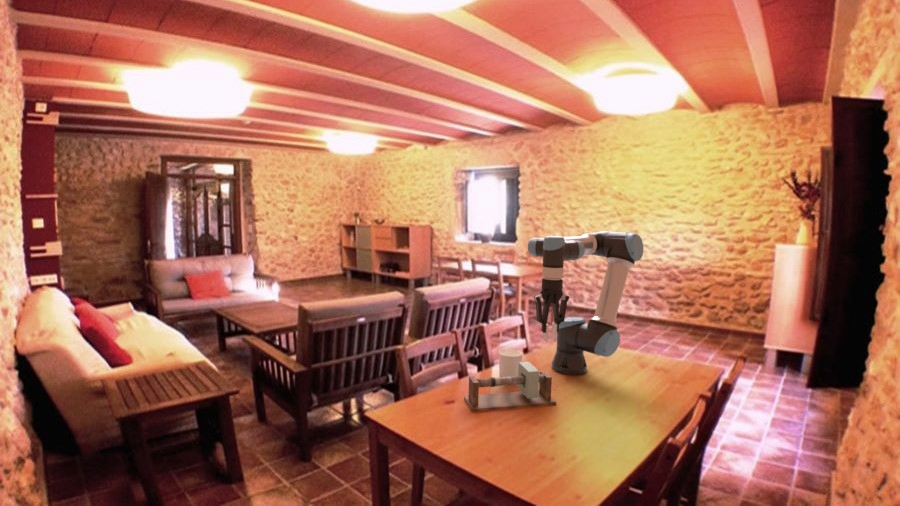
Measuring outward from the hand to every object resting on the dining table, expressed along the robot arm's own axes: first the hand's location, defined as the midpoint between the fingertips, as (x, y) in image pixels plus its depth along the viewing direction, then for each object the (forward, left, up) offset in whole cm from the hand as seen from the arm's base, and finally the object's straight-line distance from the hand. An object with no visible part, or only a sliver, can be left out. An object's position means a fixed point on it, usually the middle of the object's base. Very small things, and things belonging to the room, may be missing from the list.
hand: (549, 340), depth 166 cm
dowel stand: (+15, 0, -23) cm, 27 cm away
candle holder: (+8, -19, -23) cm, 31 cm away
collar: (+8, 0, -20) cm, 21 cm away
